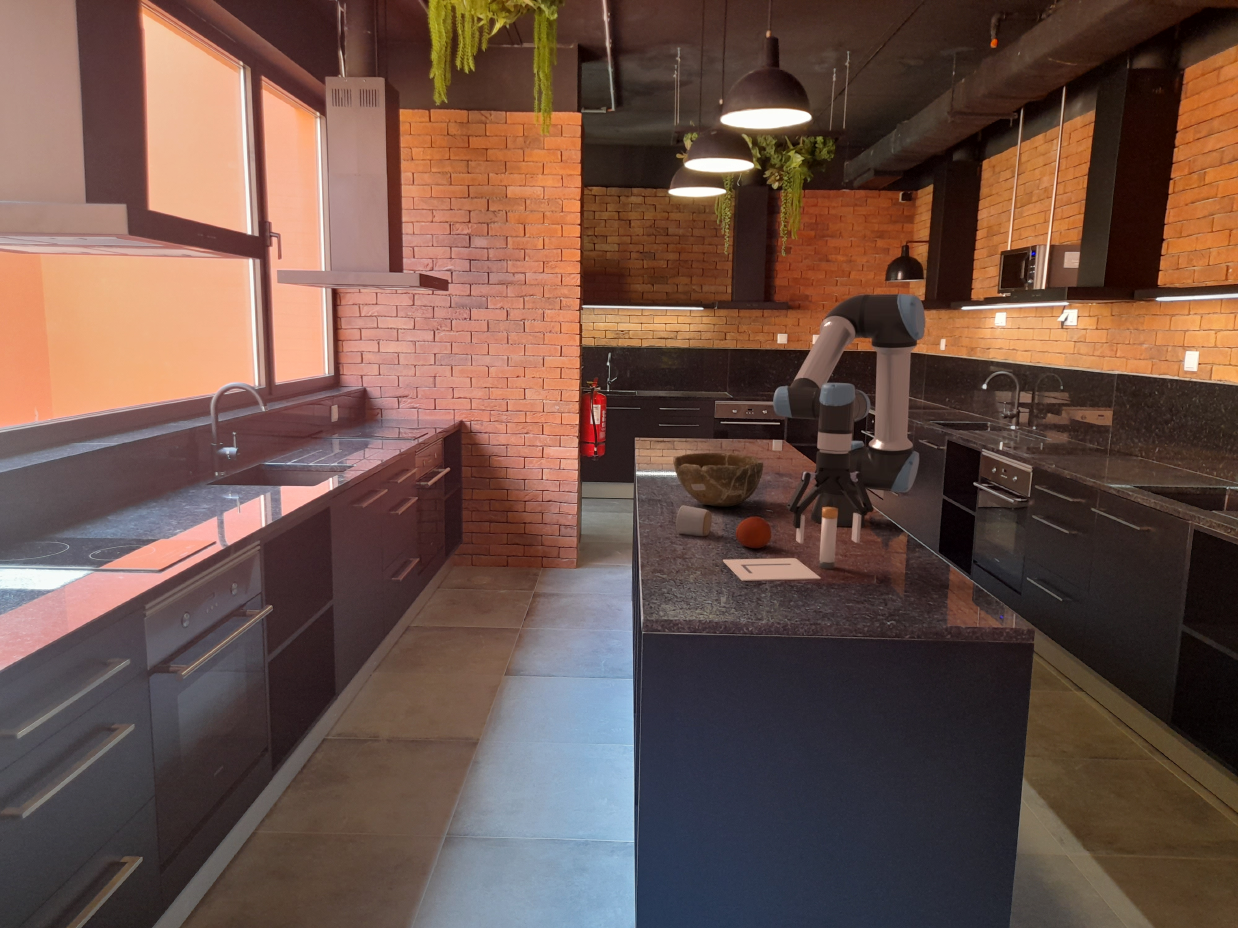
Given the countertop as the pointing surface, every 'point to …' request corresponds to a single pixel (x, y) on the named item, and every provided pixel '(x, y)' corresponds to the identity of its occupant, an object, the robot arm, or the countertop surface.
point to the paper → (770, 569)
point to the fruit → (753, 532)
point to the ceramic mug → (693, 521)
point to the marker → (828, 537)
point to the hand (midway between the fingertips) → (827, 541)
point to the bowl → (719, 477)
